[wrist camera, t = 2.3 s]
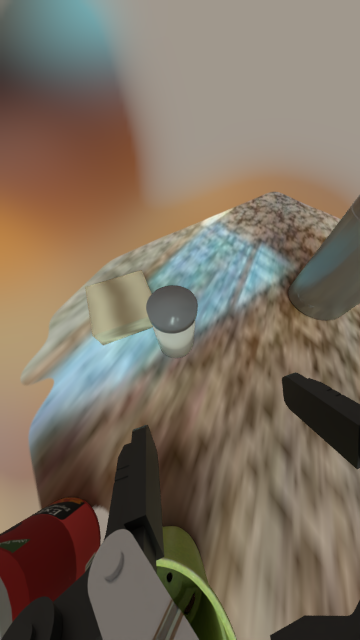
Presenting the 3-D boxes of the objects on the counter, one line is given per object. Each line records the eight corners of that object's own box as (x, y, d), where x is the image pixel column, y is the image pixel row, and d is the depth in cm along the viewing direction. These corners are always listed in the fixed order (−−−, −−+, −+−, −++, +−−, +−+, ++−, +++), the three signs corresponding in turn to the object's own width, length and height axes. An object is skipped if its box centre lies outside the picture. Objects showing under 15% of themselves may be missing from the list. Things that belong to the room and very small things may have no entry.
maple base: (145, 283, 34) (141, 270, 31) (162, 323, 29) (159, 312, 26) (94, 299, 32) (85, 287, 29) (103, 345, 27) (92, 335, 24)
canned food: (89, 476, 19) (-4, 528, 10) (116, 574, 16) (8, 809, 6) (15, 529, 17) (-191, 659, 8) (26, 656, 14) (-333, 1180, 4)
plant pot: (176, 726, 12) (159, 1213, 5) (95, 584, 15) (9, 737, 8) (241, 564, 16) (290, 693, 8) (164, 477, 19) (150, 513, 11)
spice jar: (185, 321, 29) (185, 279, 20) (199, 350, 26) (206, 316, 18) (154, 333, 28) (140, 294, 19) (165, 364, 25) (155, 335, 17)
